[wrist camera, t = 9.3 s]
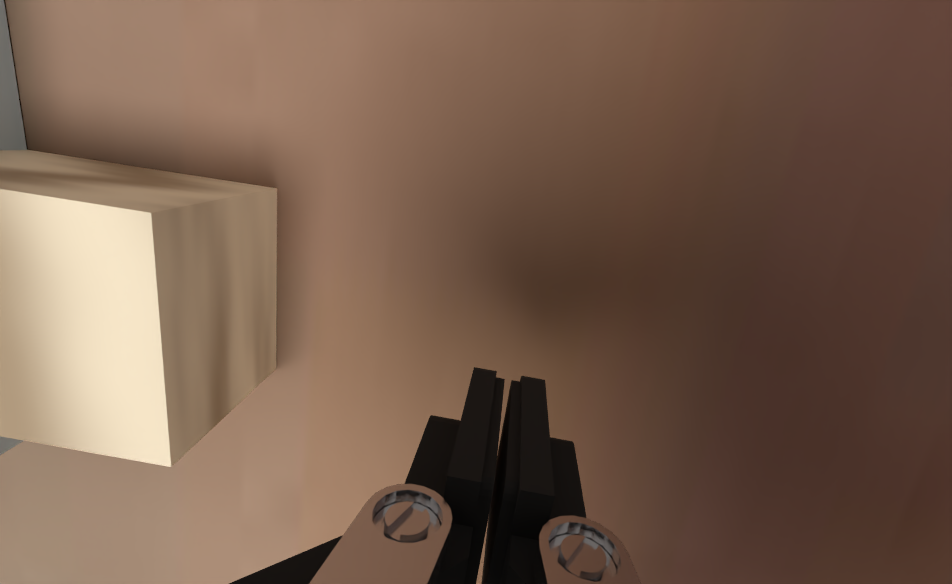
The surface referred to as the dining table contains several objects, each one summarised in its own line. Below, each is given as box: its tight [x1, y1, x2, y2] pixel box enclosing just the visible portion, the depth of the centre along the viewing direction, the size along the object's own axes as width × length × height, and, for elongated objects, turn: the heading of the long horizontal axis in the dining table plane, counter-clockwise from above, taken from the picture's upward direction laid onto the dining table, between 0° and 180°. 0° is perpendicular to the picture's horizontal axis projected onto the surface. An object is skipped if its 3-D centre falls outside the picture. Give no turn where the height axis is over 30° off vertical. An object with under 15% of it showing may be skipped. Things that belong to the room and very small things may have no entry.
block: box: [0, 150, 277, 467], centre depth 15 cm, size 9×7×6 cm
